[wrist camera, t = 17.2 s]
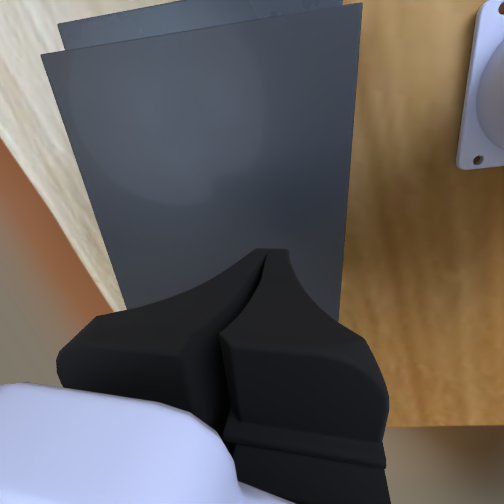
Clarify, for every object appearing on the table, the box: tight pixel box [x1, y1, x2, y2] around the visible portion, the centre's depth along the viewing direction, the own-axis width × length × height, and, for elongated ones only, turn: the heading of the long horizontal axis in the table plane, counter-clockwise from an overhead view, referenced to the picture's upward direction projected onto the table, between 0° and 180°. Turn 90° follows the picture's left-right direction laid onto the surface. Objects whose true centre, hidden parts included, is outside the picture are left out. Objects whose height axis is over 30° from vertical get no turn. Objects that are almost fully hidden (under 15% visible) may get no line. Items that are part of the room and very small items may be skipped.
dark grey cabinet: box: [41, 2, 363, 322], centre depth 17 cm, size 14×13×7 cm
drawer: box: [58, 0, 343, 50], centre depth 16 cm, size 15×12×5 cm
